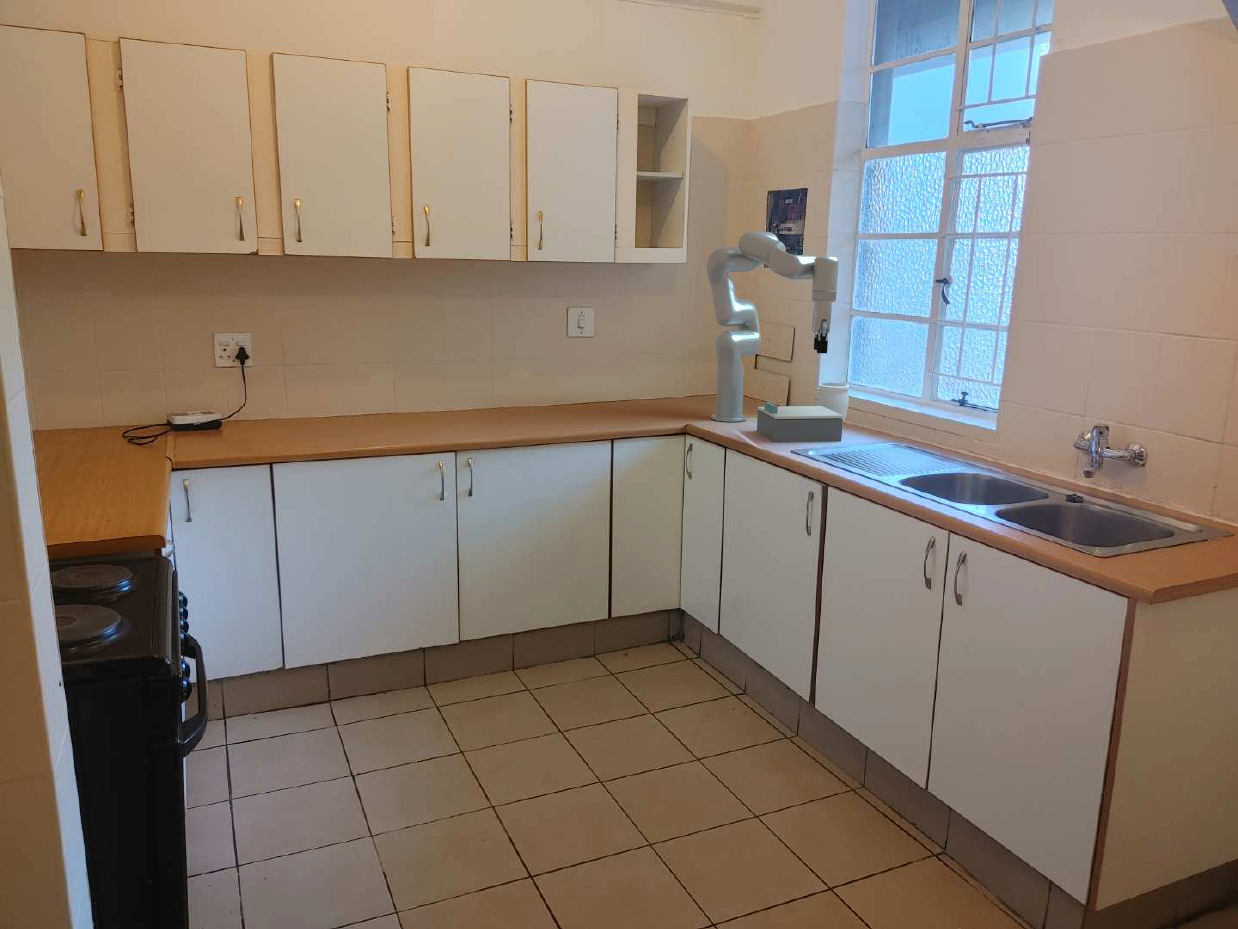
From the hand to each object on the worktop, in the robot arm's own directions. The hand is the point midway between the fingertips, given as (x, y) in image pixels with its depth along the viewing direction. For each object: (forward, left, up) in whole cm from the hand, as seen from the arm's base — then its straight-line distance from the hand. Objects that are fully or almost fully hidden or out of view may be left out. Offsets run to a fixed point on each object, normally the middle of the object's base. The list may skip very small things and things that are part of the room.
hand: (820, 351), depth 291 cm
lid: (+1, -6, -20) cm, 21 cm away
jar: (-16, +12, -28) cm, 35 cm away
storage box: (+1, -6, -28) cm, 29 cm away
